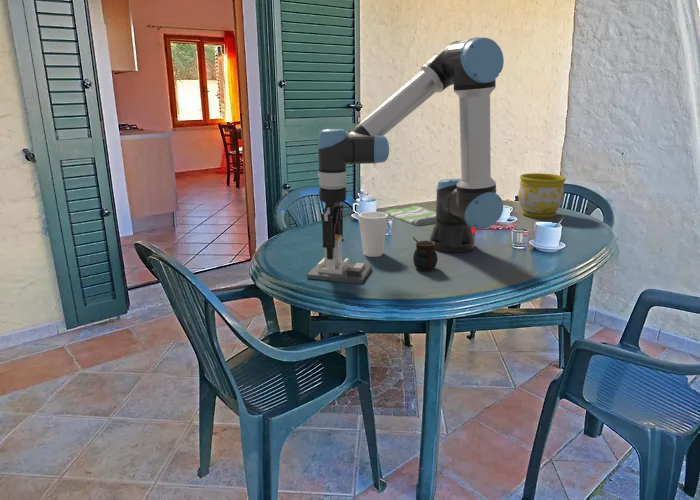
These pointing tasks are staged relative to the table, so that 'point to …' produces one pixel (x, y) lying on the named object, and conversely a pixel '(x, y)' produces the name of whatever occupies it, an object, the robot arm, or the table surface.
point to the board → (341, 272)
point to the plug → (337, 250)
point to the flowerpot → (540, 194)
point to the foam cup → (373, 232)
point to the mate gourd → (425, 255)
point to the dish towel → (413, 215)
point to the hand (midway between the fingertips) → (333, 266)
